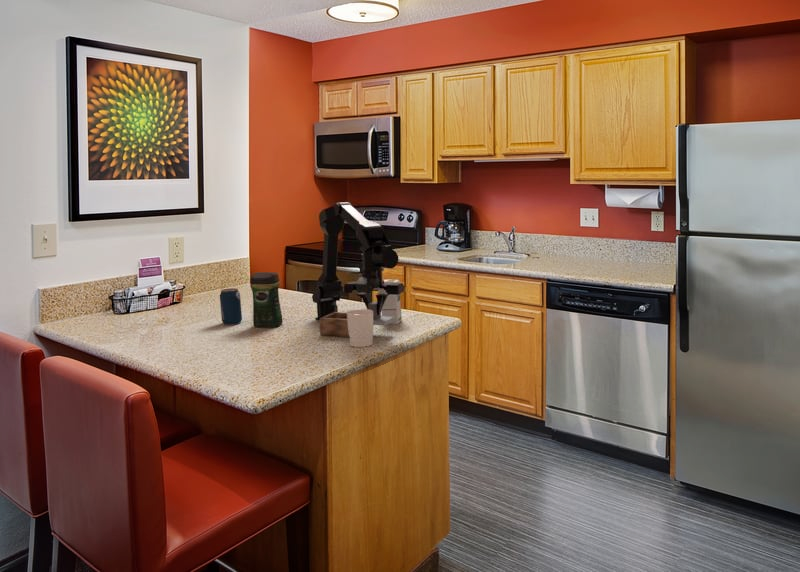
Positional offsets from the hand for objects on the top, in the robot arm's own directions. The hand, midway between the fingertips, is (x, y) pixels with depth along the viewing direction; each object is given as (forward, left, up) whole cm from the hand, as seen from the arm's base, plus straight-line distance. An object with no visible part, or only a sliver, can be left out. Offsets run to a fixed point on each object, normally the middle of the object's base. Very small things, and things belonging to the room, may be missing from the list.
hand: (374, 315), depth 192 cm
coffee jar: (-42, +3, -7) cm, 43 cm away
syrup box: (-2, +18, -7) cm, 19 cm away
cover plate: (0, 0, -2) cm, 2 cm away
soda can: (-57, +3, -7) cm, 57 cm away
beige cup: (0, -11, -7) cm, 13 cm away
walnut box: (-11, 0, -7) cm, 13 cm away
